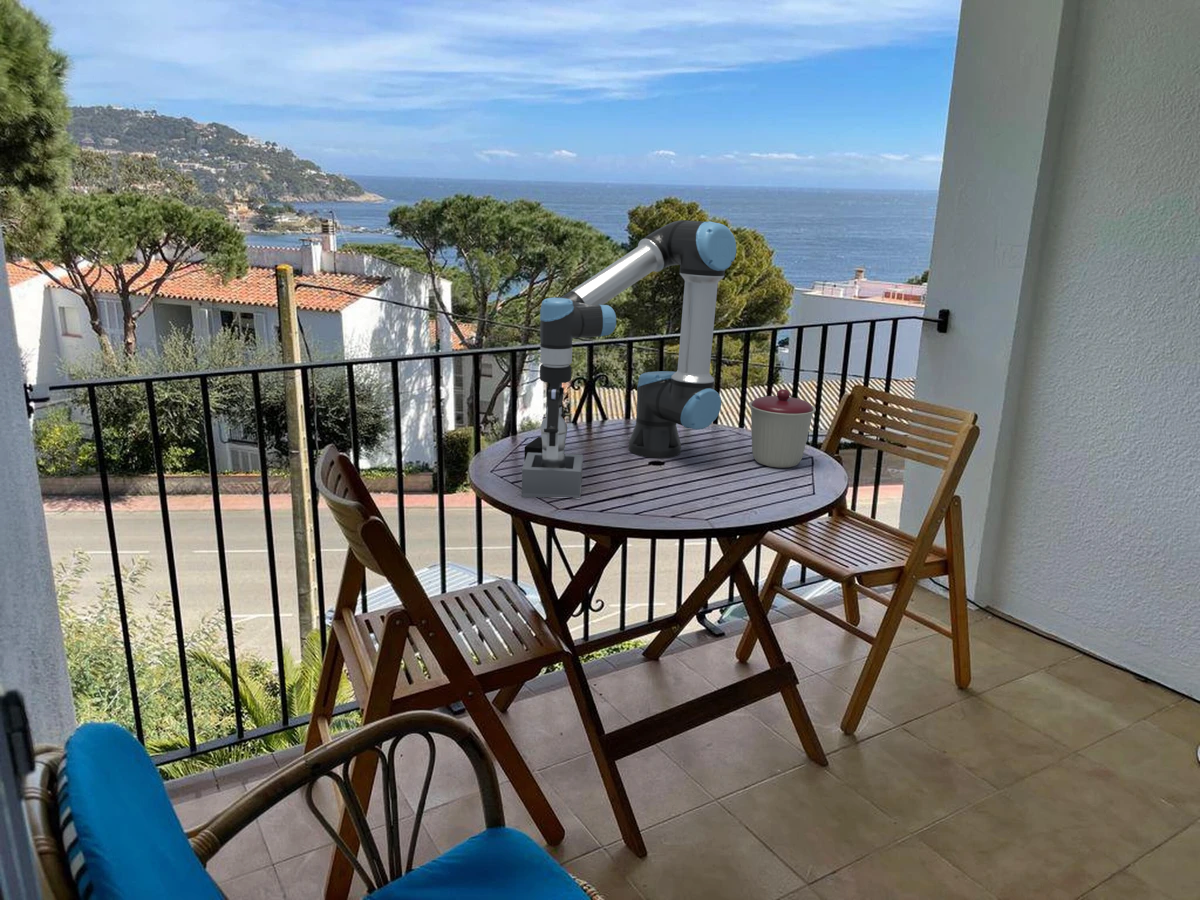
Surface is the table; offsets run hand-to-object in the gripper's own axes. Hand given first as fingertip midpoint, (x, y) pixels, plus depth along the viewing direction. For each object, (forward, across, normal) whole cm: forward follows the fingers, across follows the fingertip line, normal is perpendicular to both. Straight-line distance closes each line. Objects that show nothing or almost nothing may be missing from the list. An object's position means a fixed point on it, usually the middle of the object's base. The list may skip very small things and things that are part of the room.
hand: (554, 450), depth 208 cm
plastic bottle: (+9, 0, 0) cm, 9 cm away
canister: (+11, -30, +61) cm, 69 cm away
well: (+10, 0, 0) cm, 10 cm away
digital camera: (+10, -17, -5) cm, 20 cm away
